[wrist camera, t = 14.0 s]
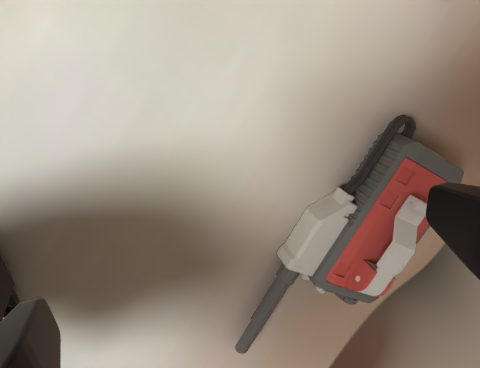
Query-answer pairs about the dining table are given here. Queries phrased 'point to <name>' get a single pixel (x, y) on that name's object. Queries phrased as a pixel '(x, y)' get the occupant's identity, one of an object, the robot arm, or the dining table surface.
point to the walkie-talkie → (361, 226)
